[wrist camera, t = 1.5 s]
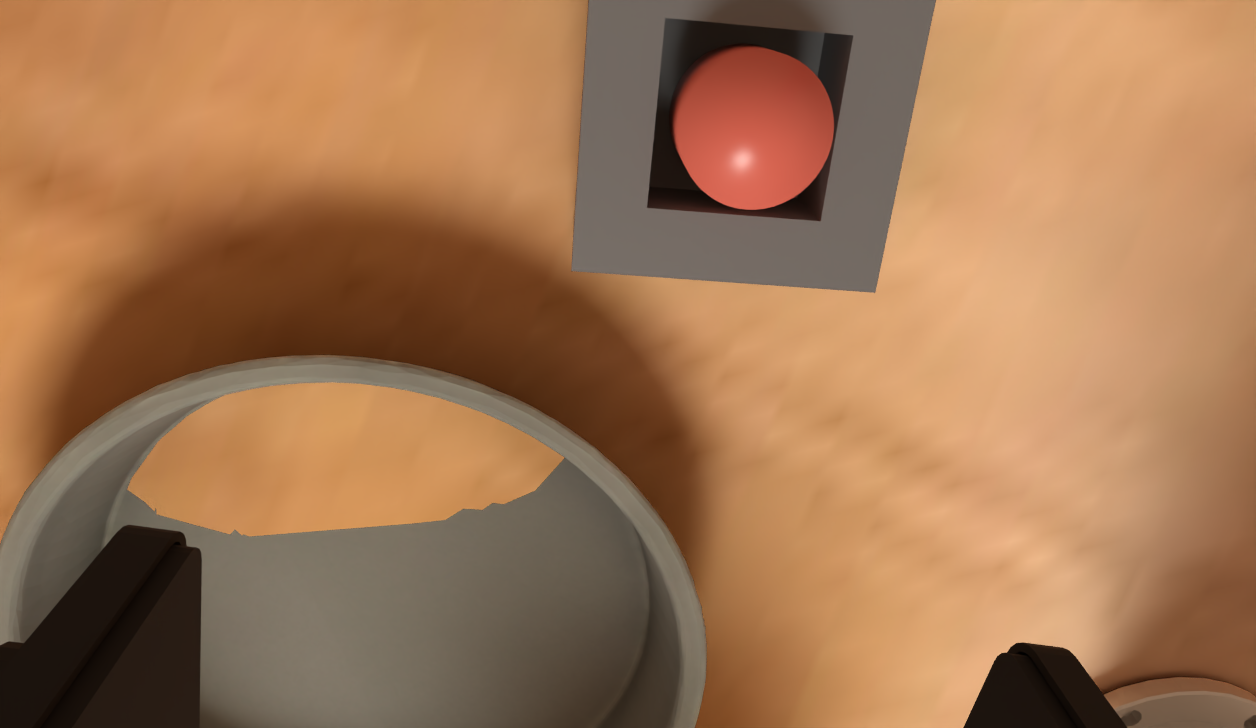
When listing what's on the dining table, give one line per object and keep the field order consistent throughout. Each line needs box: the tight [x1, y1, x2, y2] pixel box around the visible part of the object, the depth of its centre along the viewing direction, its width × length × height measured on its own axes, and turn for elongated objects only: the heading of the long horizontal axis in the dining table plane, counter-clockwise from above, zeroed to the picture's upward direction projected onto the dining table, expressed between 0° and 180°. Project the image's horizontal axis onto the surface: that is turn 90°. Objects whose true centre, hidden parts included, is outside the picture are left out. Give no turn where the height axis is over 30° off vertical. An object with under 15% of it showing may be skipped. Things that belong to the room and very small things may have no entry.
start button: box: [669, 43, 834, 210], centre depth 24 cm, size 4×4×3 cm
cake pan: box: [0, 355, 707, 728], centre depth 33 cm, size 25×25×4 cm
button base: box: [572, 0, 936, 293], centre depth 26 cm, size 9×9×4 cm
